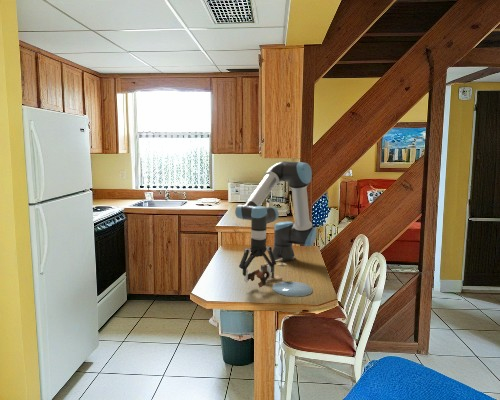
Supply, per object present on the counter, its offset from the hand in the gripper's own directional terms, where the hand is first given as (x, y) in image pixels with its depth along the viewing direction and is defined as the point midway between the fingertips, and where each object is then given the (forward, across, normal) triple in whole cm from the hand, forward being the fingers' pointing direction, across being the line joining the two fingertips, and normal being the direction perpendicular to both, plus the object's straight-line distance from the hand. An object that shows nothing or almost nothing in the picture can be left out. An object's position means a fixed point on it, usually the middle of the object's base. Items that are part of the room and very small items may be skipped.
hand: (257, 280), depth 204 cm
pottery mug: (+2, 0, +1) cm, 2 cm away
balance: (+5, -14, -10) cm, 17 cm away
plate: (+5, -17, +6) cm, 18 cm away
